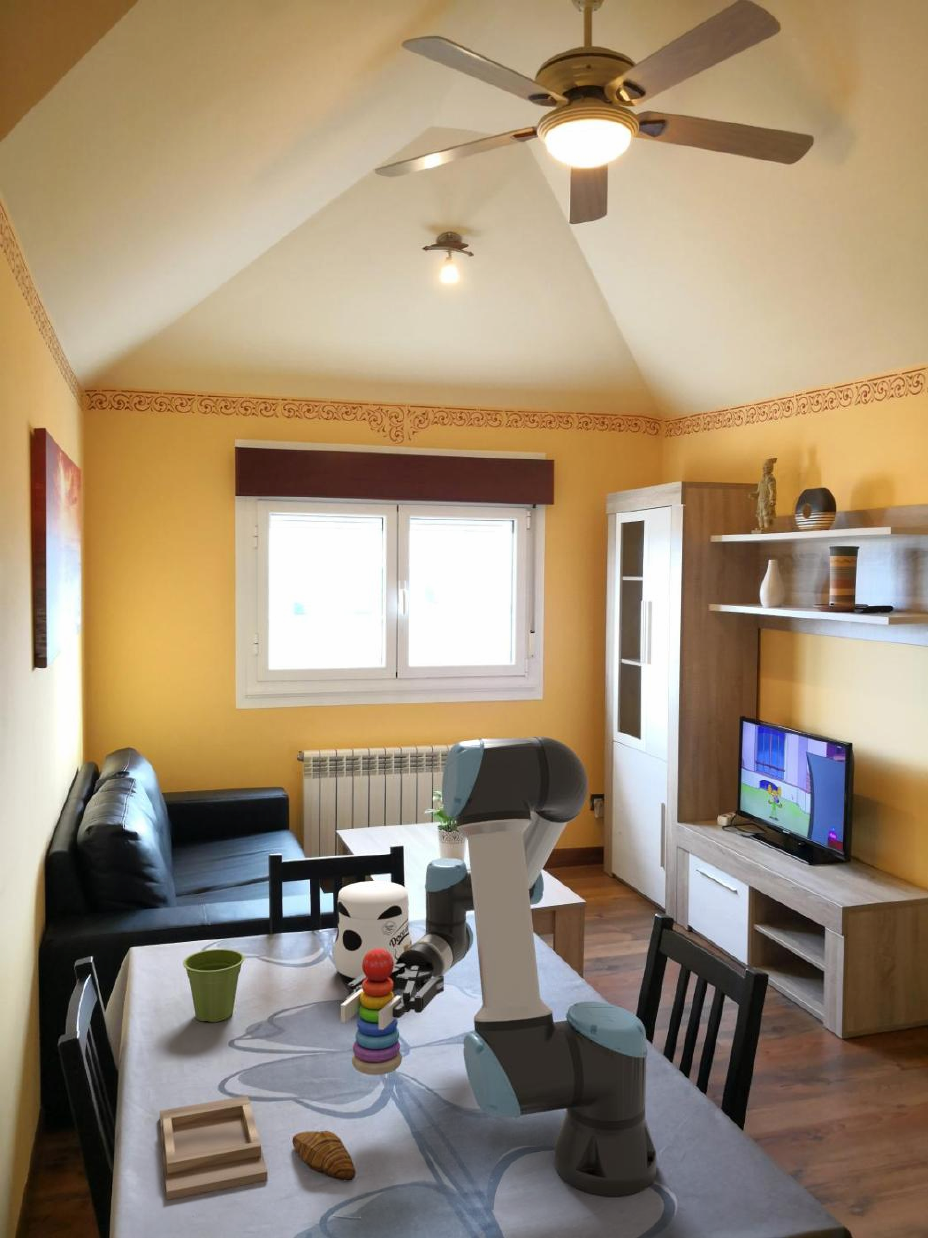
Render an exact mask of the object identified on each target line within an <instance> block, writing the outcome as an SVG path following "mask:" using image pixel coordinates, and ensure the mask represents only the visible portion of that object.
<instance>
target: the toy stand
mask: <svg viewBox="0 0 928 1238" xmlns="http://www.w3.org/2000/svg"><path fill="white" fill-rule="evenodd" d="M159 1125H160V1126H159V1127H160V1137H161V1147H162V1159H163V1168H164V1169H163V1170H164V1171H163V1172H164V1180H165V1191H166V1192H165V1193H166V1201H169V1200H175V1199H178V1198H179V1199H180V1198H184V1197H188V1196H193V1195H198V1194H204V1193H209V1192H214V1191H218V1190H219V1191H220V1190H222V1189H228V1188H234V1187H239V1186H245V1185H249V1184H254V1183H258V1182H262V1181H263V1182H264V1181H268V1180H269V1179H268V1168H267V1165H266V1161H265V1158H264V1157H265V1156H264V1153H263V1149H262V1145H261V1144H262V1143H261V1139H260V1135H259V1133H258V1128H257V1125H256V1121H255V1117H254V1114H253V1110H252V1105H251V1102H250V1099H249V1096H248V1095H244V1096H238V1097H231V1098H227V1099H220V1100H214V1101H209V1102H202V1103H197V1104H192V1105H191V1104H190V1105H185V1106H181V1107H175V1108H174V1107H173V1108H168V1109H162V1110H161V1109H160V1110H159Z"/></svg>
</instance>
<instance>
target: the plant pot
mask: <svg viewBox="0 0 928 1238" xmlns="http://www.w3.org/2000/svg"><path fill="white" fill-rule="evenodd" d="M244 961H245V955H244V954H243V953H242V952H240V951H238V950H234V949H228V948H213V949H205V950H201V951H197V952H194V953H192V954H190V955H188V956H186V957H185V958H184V959H183V961H182V965H183V967H184V968H185V970H186V975H187V978H188V980H189V984H190V991H191V997H192V1003H193V1009H194V1013H195V1018H196V1020H198V1021H201V1022H206V1021H207V1022H209V1023H217V1022H221V1021H225V1020H227V1019H229V1018H230V1017H231V1015H232V1014H233V1013H234V1008H235V1001H236V995H237V987H238V981H239V975H240V974H241V968H242V964H243V963H244Z"/></svg>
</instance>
